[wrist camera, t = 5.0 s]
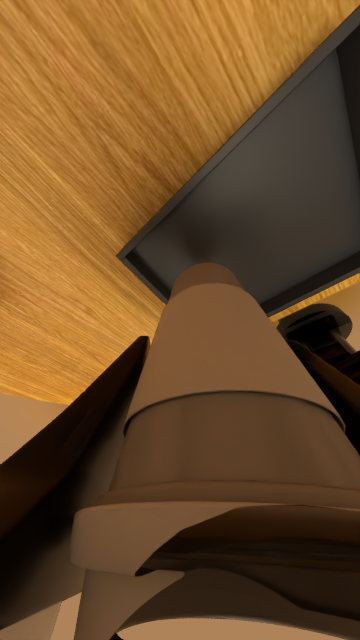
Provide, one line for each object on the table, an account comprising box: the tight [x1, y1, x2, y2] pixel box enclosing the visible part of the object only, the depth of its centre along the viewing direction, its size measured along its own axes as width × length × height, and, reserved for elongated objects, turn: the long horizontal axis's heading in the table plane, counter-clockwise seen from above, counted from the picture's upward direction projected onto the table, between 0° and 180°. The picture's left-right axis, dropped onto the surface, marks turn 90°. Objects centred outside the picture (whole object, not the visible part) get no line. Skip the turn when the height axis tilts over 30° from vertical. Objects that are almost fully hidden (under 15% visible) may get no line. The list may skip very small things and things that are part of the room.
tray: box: [116, 5, 360, 317], centre depth 17 cm, size 15×19×3 cm
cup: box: [70, 263, 360, 640], centre depth 8 cm, size 7×7×12 cm
